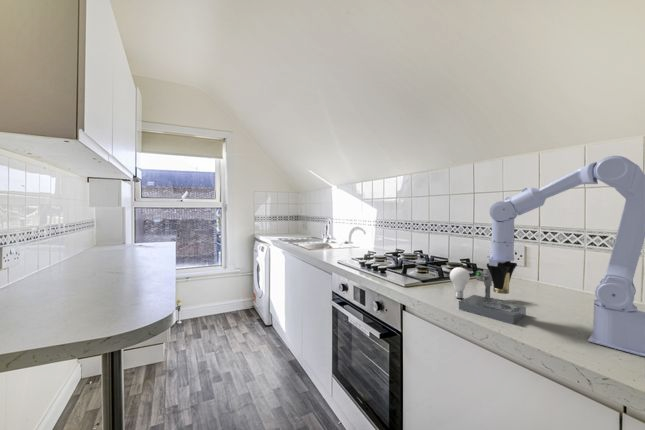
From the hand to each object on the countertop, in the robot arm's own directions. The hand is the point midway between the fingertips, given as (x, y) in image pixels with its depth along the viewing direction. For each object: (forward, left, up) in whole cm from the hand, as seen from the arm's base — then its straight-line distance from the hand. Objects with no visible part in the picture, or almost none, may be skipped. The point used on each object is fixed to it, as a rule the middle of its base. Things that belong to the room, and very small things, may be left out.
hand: (501, 287), depth 86 cm
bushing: (0, 0, -1) cm, 1 cm away
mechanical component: (+9, -14, -8) cm, 19 cm away
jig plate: (+2, 0, -8) cm, 9 cm away
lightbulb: (+15, -6, -8) cm, 18 cm away
